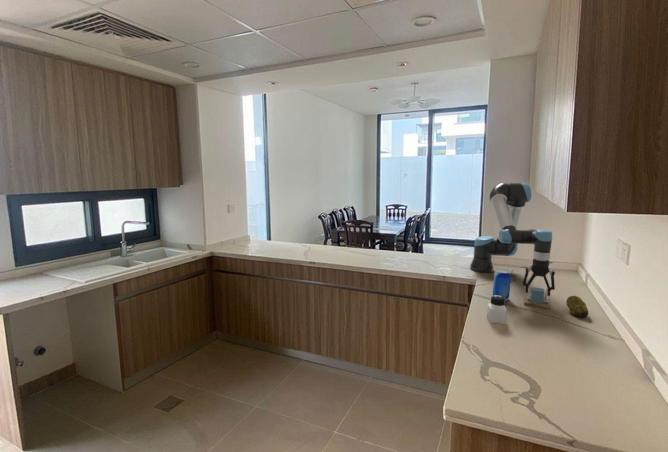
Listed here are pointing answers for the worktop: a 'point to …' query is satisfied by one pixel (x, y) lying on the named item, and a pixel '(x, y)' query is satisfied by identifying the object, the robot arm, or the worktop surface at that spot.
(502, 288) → the beer can
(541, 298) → the light blue chamfered box
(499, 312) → the medicine bottle
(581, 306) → the brown oval lump
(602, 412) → the worktop surface
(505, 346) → the worktop surface
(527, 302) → the tan square panel
